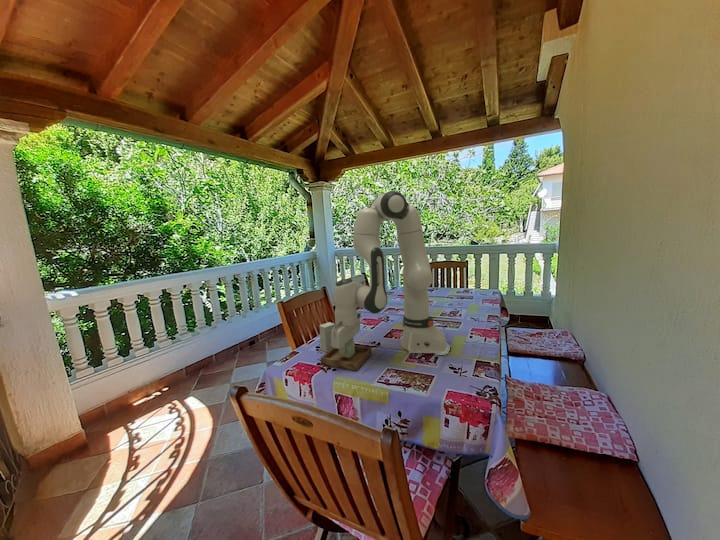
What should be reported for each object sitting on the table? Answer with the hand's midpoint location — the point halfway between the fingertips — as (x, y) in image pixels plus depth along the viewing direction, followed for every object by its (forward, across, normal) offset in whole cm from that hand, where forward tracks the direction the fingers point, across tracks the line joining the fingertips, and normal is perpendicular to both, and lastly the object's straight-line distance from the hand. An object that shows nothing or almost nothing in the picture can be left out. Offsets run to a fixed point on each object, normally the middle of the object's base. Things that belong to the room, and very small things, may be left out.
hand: (346, 349), depth 121 cm
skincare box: (+4, +6, +13) cm, 15 cm away
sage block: (+2, 0, 0) cm, 2 cm away
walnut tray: (+4, 0, 0) cm, 4 cm away
